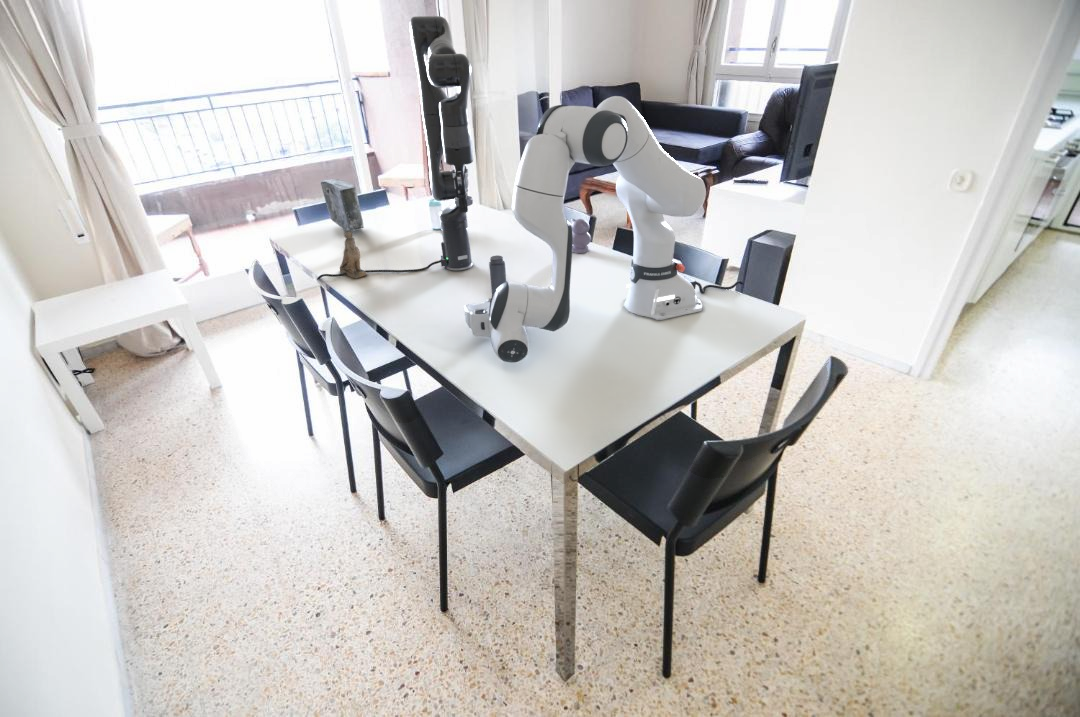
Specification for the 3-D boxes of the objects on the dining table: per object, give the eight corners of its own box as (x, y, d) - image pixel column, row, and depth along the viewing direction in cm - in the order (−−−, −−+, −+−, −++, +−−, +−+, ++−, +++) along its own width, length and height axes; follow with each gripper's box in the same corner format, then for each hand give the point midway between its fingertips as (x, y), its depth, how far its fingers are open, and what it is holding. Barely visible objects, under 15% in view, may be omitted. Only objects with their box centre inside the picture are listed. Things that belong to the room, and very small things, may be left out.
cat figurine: (595, 249, 191) (595, 218, 185) (582, 255, 186) (582, 223, 180) (577, 245, 196) (578, 214, 190) (564, 250, 191) (564, 219, 185)
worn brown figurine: (368, 281, 178) (362, 235, 166) (353, 285, 175) (347, 238, 163) (352, 266, 184) (346, 221, 172) (338, 270, 181) (331, 224, 169)
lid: (470, 200, 140) (469, 194, 140) (474, 205, 137) (474, 199, 136) (452, 203, 139) (452, 196, 138) (457, 207, 135) (456, 201, 134)
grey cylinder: (491, 323, 141) (485, 258, 131) (500, 317, 144) (494, 253, 134) (503, 327, 139) (498, 261, 129) (512, 321, 142) (507, 256, 132)
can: (445, 229, 220) (441, 202, 214) (429, 230, 220) (425, 202, 214) (447, 224, 226) (444, 198, 220) (432, 225, 226) (428, 198, 220)
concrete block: (369, 233, 219) (358, 186, 208) (349, 237, 215) (337, 190, 204) (349, 220, 237) (339, 177, 227) (331, 224, 233) (319, 180, 223)
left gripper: (444, 139, 135) (452, 202, 144) (440, 149, 123) (449, 217, 132) (472, 138, 135) (478, 201, 145) (470, 148, 123) (477, 216, 133)
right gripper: (544, 306, 127) (535, 285, 139) (464, 314, 125) (462, 292, 136) (545, 328, 130) (536, 305, 142) (467, 336, 128) (464, 313, 139)
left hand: (464, 208), depth 138 cm, fingers closed on lid, 4 cm apart
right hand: (499, 299), depth 139 cm, fingers closed on grey cylinder, 4 cm apart
